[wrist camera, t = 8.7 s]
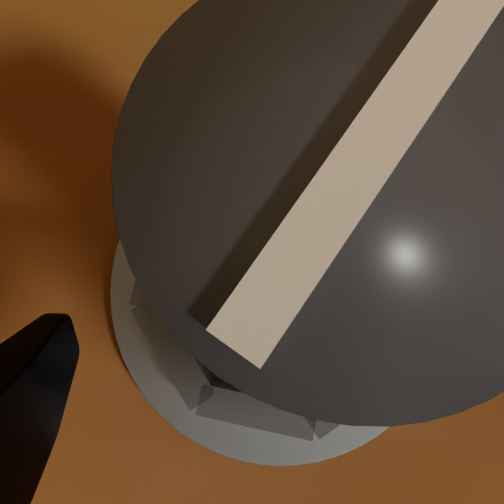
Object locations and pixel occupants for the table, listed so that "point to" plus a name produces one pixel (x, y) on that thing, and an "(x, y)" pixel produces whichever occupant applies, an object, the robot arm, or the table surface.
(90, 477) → the table surface
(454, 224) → the knob
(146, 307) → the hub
